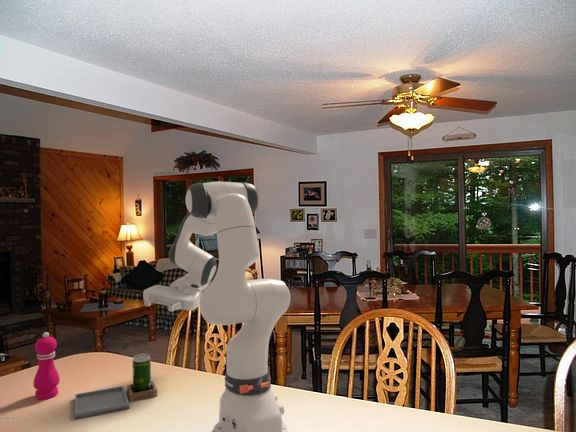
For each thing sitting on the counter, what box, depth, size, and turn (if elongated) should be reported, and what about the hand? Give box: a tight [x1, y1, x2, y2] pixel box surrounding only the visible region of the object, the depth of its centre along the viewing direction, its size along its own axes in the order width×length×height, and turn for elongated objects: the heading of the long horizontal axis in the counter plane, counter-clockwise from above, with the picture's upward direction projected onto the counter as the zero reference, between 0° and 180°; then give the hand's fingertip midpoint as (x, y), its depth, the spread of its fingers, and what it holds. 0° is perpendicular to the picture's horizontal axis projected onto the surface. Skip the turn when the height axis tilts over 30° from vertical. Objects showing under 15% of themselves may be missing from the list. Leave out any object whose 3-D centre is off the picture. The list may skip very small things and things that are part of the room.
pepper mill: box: [33, 331, 60, 401], centre depth 138 cm, size 7×7×20 cm
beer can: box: [132, 352, 152, 393], centre depth 139 cm, size 5×5×12 cm
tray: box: [74, 385, 130, 420], centre depth 132 cm, size 14×14×2 cm
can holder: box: [126, 380, 158, 402], centre depth 140 cm, size 8×8×2 cm
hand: (157, 306), depth 146 cm, fingers open, 8 cm apart
